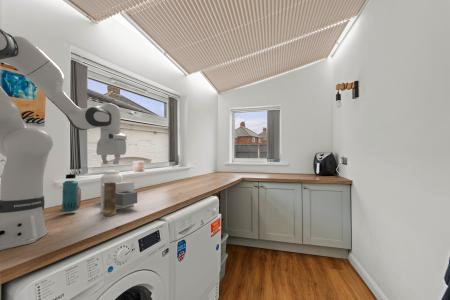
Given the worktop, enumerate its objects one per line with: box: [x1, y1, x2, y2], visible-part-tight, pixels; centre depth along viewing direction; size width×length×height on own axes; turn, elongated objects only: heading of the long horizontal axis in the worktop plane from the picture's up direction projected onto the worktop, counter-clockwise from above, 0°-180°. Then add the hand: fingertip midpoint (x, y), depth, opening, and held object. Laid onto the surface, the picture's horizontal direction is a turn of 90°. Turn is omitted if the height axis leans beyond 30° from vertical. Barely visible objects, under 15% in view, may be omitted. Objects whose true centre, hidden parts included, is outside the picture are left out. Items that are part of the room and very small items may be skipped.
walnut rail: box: [103, 182, 117, 217], centre depth 105 cm, size 4×4×16 cm
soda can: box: [77, 185, 82, 209], centre depth 119 cm, size 7×7×12 cm
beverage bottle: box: [61, 173, 79, 213], centre depth 108 cm, size 6×7×20 cm
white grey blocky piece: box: [100, 181, 138, 213], centre depth 116 cm, size 18×12×14 cm, turn 148°
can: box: [100, 169, 124, 186], centre depth 136 cm, size 12×12×20 cm
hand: (110, 164), depth 106 cm, fingers open, 8 cm apart
